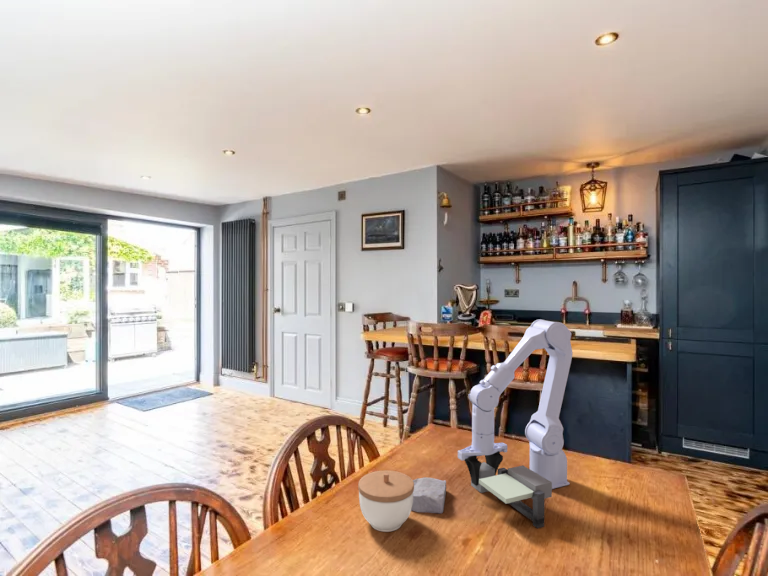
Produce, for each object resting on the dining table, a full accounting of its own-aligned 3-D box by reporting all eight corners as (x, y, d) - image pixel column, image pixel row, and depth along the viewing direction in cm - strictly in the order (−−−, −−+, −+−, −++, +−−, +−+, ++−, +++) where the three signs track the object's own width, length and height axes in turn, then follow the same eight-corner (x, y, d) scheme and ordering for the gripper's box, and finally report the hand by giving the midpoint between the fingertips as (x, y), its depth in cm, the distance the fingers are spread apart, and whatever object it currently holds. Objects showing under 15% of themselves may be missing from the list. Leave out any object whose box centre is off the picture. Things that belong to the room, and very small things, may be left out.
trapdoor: (521, 478, 105) (521, 464, 105) (553, 497, 95) (553, 483, 95) (478, 487, 100) (478, 473, 100) (506, 509, 90) (506, 494, 90)
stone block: (405, 519, 98) (446, 515, 96) (401, 498, 99) (442, 494, 97) (411, 495, 110) (449, 491, 108) (408, 477, 110) (445, 473, 108)
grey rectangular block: (484, 482, 112) (484, 462, 112) (494, 489, 108) (494, 468, 108) (471, 485, 111) (471, 464, 111) (480, 492, 107) (480, 471, 107)
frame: (503, 496, 105) (504, 467, 105) (544, 526, 92) (544, 493, 92) (497, 498, 104) (497, 468, 104) (537, 528, 91) (537, 494, 91)
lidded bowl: (425, 522, 93) (425, 474, 93) (386, 547, 84) (386, 494, 84) (385, 501, 102) (385, 457, 102) (346, 522, 93) (346, 474, 93)
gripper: (495, 422, 116) (495, 471, 116) (451, 429, 110) (451, 480, 110) (512, 431, 109) (512, 482, 109) (466, 439, 104) (466, 492, 104)
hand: (482, 482), depth 110 cm, fingers closed on grey rectangular block, 4 cm apart
